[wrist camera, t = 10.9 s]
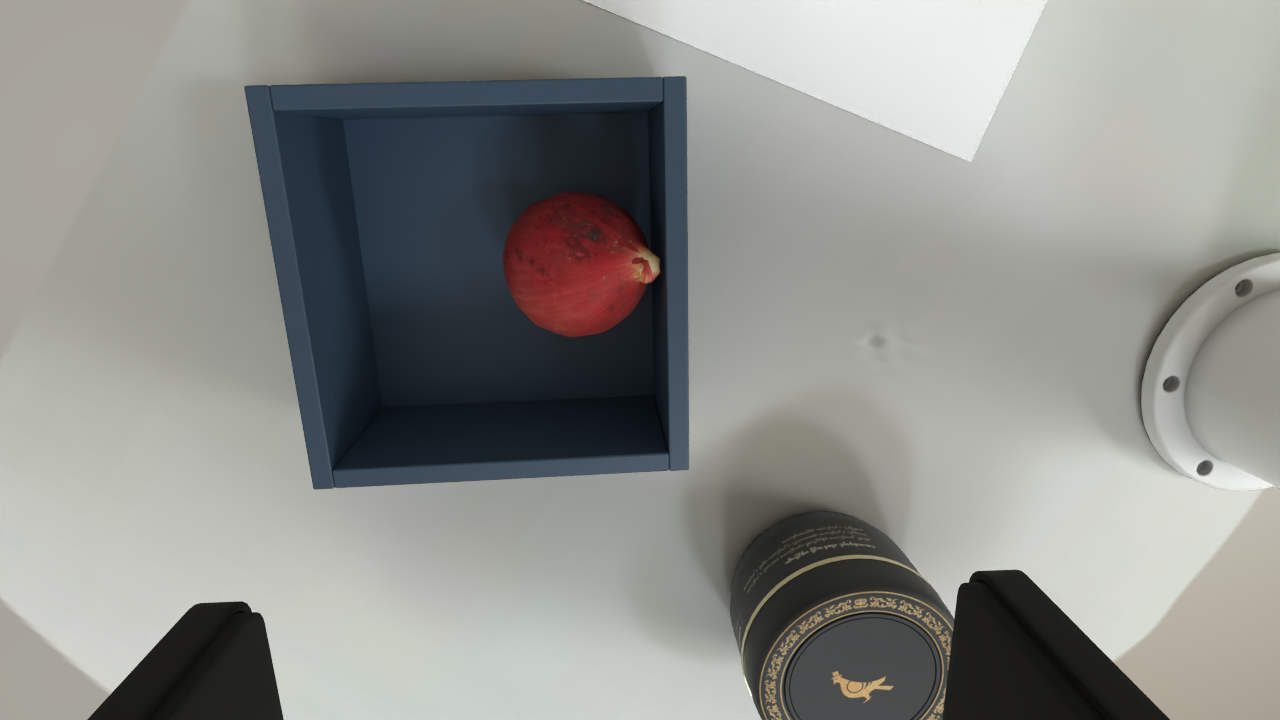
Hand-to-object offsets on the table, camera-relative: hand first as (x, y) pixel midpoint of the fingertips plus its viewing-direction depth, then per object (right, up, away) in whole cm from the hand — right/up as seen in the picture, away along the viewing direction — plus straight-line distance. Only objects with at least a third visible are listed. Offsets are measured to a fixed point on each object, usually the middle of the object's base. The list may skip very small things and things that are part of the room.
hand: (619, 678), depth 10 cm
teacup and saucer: (+10, +26, +20) cm, 34 cm away
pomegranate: (-5, +8, +22) cm, 24 cm away
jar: (+10, -8, +30) cm, 32 cm away
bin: (-6, +9, +23) cm, 26 cm away
